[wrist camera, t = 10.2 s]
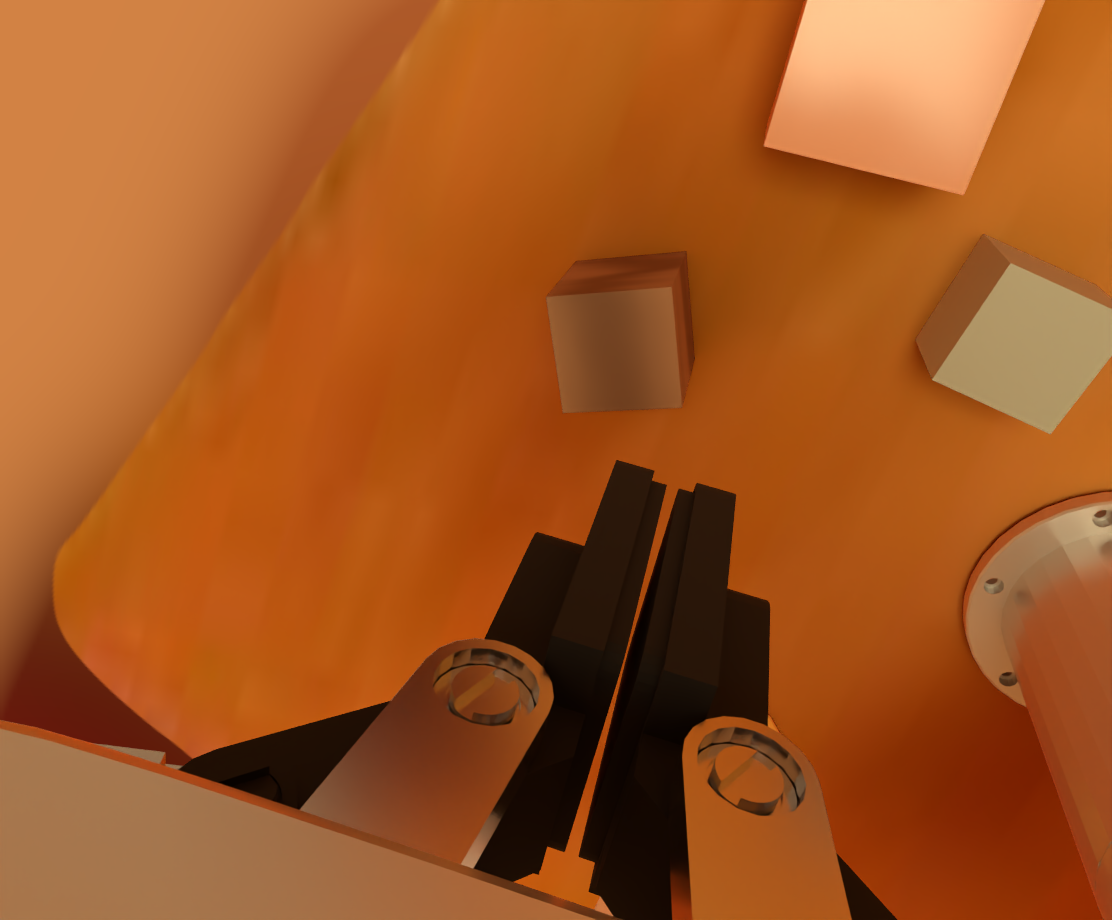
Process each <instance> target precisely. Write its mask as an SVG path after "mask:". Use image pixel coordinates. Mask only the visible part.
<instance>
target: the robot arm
mask: <svg viewBox="0 0 1112 920" xmlns="http://www.w3.org/2000/svg"><path fill="white" fill-rule="evenodd" d="M653 474H654V471H653V470H650V469H646V468H643V467H639V466H636V465H632V464H629V463H626V462H622V461H619V460H616V463H615V465H614V468H613V471H612V474H611V476H610V479H609V482H608V484H607V487H606V490H605V492H604V495H603V498H602V500H601V503H600V506H599V508H598V511H597V514H596V517H595V519H594V522H593V525H592V527H591V530H590V533H589V535H588V538H587V541H586V543H585V546H582V545H579V544H576V543H572V542H569V541H565V540H562V539H559V538H555V537H552V536H549V535H545V534H542V533H539V532H537V533H535V535H534V537H533V538H532V540H531V542H530V544H529V547H528V549H527V551H526V553H525V555H524V557H523V559H522V561H521V563H520V565H519V567H518V570H517V572H516V574H515V576H514V578H513V580H512V582H511V584H510V586H509V588H508V591H507V593H506V595H505V597H504V599H503V601H502V603H501V605H500V607H499V609H498V611H497V614H496V616H495V618H494V620H493V622H492V624H491V626H490V628H489V630H488V632H487V634H486V637H485V639H467V640H460V641H455V642H452V643H450V644H447V645H445V646H442V647H440V648H438V649H437V650H436V651H435V652H433V653H432V654H431V655H430V656H429V657H427V658H426V659H425V661H424V662H423V663H422V664H421V665H420V667H419V668H418V669H417V670H416V671H415V673H414V674H413V675H412V676H411V677H410V678H409V680H408V681H407V682H406V683H405V684H404V686H403V687H402V688H401V689H400V690H399V692H398V693H397V694H396V695H395V696H394V698H393V699H392V700H391V701H388V702H385V703H381V704H378V705H374V706H370V707H367V708H363V709H360V710H356V711H352V712H349V713H345V714H342V715H338V716H334V717H331V718H327V719H324V720H320V721H316V722H313V723H309V724H306V725H302V726H298V727H295V728H291V729H288V730H284V731H281V732H277V733H273V734H270V735H266V736H263V737H259V738H255V739H252V740H248V741H245V742H241V743H237V744H234V745H230V746H227V747H223V748H219V749H216V750H213V751H211V752H209V753H206V754H204V755H201V756H199V757H196V758H194V759H192V760H191V761H189V762H188V763H187V764H185V765H184V766H178V765H169V764H165V752H158V751H150V750H142V749H133V748H125V747H118V746H110V745H101V744H93V743H89V742H85V741H82V740H78V739H75V738H71V737H68V736H64V735H61V734H57V733H54V732H50V731H47V730H43V729H40V728H36V727H32V726H26V725H22V724H16V723H12V722H7V721H2V720H0V920H897V919H896V918H895V917H894V916H893V915H892V913H891V912H890V911H889V910H888V909H887V908H886V907H885V906H884V905H883V904H882V902H881V901H880V900H879V899H878V898H877V897H876V896H875V895H874V894H873V893H872V891H871V890H870V889H869V888H868V887H867V886H866V885H865V884H864V883H863V882H862V881H861V879H860V878H859V877H858V876H857V875H856V874H855V873H854V872H853V871H852V870H851V868H850V867H849V866H848V865H847V864H846V863H845V862H844V861H843V860H842V859H841V858H840V856H839V855H838V854H837V853H836V850H835V846H834V842H833V837H832V833H831V829H830V824H829V820H828V816H827V812H826V807H825V803H824V799H823V794H822V790H821V786H820V782H819V780H818V777H817V775H816V773H815V770H814V768H813V766H812V764H811V763H810V762H809V760H808V759H807V758H806V756H805V755H804V754H803V753H802V751H801V750H800V749H799V748H798V747H797V746H796V745H794V744H793V743H792V742H791V741H790V740H788V739H787V738H786V737H785V736H784V735H782V734H780V733H778V732H777V731H775V730H773V729H771V728H769V727H768V690H769V637H770V604H769V602H768V601H767V600H763V599H760V598H757V597H753V596H750V595H747V594H743V593H740V592H737V591H733V590H730V589H727V585H728V575H729V564H730V554H731V543H732V533H733V522H734V511H735V501H736V494H734V493H730V492H727V491H723V490H720V489H716V488H713V487H709V486H706V485H702V484H699V483H697V484H696V486H695V488H694V491H693V492H689V491H686V490H682V489H679V490H678V492H677V495H676V498H675V502H674V505H673V508H672V511H671V514H670V518H669V521H668V524H667V527H666V531H665V534H664V537H663V540H662V544H661V547H660V550H659V553H658V556H657V560H656V563H655V566H654V569H653V573H652V576H651V579H650V582H649V586H648V589H647V592H646V595H645V598H644V602H643V605H642V608H641V611H640V615H639V618H638V621H637V624H636V627H635V631H634V634H633V637H632V641H631V644H630V647H629V651H628V654H627V658H626V662H625V666H624V670H623V674H622V678H621V683H620V687H619V691H618V695H617V699H616V703H615V707H614V711H613V716H612V720H611V724H610V728H609V732H608V736H607V740H606V745H605V749H604V753H603V757H602V761H601V765H600V769H599V774H598V778H597V782H596V786H595V790H594V794H593V798H592V802H591V807H590V811H589V815H588V819H587V823H586V827H585V831H584V836H583V840H582V844H581V848H580V852H579V857H581V858H584V859H587V860H590V861H593V862H595V865H594V870H593V874H592V879H591V883H590V888H589V892H591V893H593V894H596V895H599V896H600V897H601V898H602V900H603V901H604V903H605V904H606V906H607V907H608V909H609V910H610V912H611V913H612V915H613V916H611V915H608V914H605V913H602V912H599V911H596V910H593V909H590V908H587V907H584V906H582V905H579V904H576V903H573V902H570V901H567V900H564V899H561V898H558V897H555V896H552V895H549V894H546V893H543V892H541V891H538V890H535V889H532V888H529V887H526V886H523V885H520V884H517V883H514V881H516V880H519V879H521V878H523V877H526V876H528V875H530V874H532V873H535V874H538V875H539V871H540V870H541V866H542V863H543V859H544V856H545V852H546V849H547V846H548V847H551V848H554V849H557V850H560V851H563V852H565V849H566V846H567V843H568V839H569V836H570V833H571V830H572V827H573V823H574V820H575V817H576V814H577V810H578V807H579V804H580V801H581V797H582V794H583V791H584V788H585V784H586V781H587V778H588V775H589V771H590V768H591V765H592V762H593V758H594V755H595V752H596V749H597V746H598V742H599V739H600V736H601V733H602V729H603V726H604V723H605V720H606V716H607V713H608V710H609V707H610V703H611V700H612V697H613V694H614V690H615V687H616V684H617V681H618V677H619V674H620V670H621V667H622V663H623V660H624V656H625V653H626V649H627V645H628V641H629V637H630V633H631V629H632V625H633V621H634V617H635V613H636V609H637V605H638V600H639V596H640V592H641V588H642V584H643V580H644V576H645V572H646V568H647V564H648V560H649V556H650V551H651V547H652V543H653V539H654V535H655V531H656V527H657V523H658V519H659V515H660V511H661V507H662V502H663V498H664V494H665V490H666V486H667V485H665V484H661V483H658V482H654V481H652V478H653ZM1101 510H1102V511H1101ZM1098 511H1101V512H1098ZM1097 512H1098V513H1097ZM962 617H963V623H964V628H965V634H966V638H967V641H968V644H969V647H970V650H971V653H972V656H973V658H974V659H975V661H976V663H977V664H978V666H979V668H980V669H981V671H982V673H983V674H984V675H985V676H986V678H987V679H988V680H989V681H990V682H991V683H992V684H993V685H994V686H995V687H996V688H997V689H998V690H999V691H1001V692H1002V693H1004V694H1005V695H1006V696H1008V697H1009V698H1011V699H1012V700H1013V701H1015V702H1016V703H1018V704H1020V705H1022V706H1024V707H1026V708H1027V709H1028V712H1029V715H1030V718H1031V720H1032V723H1033V726H1034V729H1035V732H1036V734H1037V737H1038V740H1039V743H1040V746H1041V748H1042V751H1043V754H1044V757H1045V760H1046V762H1047V765H1048V768H1049V771H1050V774H1051V777H1052V779H1053V782H1054V785H1055V788H1056V791H1057V793H1058V796H1059V799H1060V802H1061V805H1062V807H1063V810H1064V813H1065V816H1066V819H1067V822H1068V824H1069V827H1070V830H1071V833H1072V836H1073V838H1074V841H1075V844H1076V847H1077V850H1078V852H1079V855H1080V858H1081V861H1082V864H1083V866H1084V869H1085V872H1086V875H1087V878H1088V881H1089V883H1090V886H1091V889H1092V892H1093V895H1094V897H1095V900H1096V903H1097V906H1098V909H1099V911H1100V913H1101V916H1102V918H1103V920H1112V492H1102V493H1096V494H1091V495H1086V496H1081V497H1076V498H1072V499H1069V500H1066V501H1063V502H1061V503H1058V504H1055V505H1052V506H1049V507H1046V508H1044V509H1042V510H1040V511H1039V512H1037V513H1035V514H1033V515H1031V516H1029V517H1027V518H1026V519H1024V520H1022V521H1020V522H1019V523H1017V524H1016V525H1015V526H1014V527H1012V528H1011V529H1010V530H1008V531H1007V532H1006V533H1004V534H1003V535H1002V536H1001V537H999V538H998V539H997V540H996V542H995V543H994V544H993V545H992V546H991V547H990V548H989V549H988V550H987V551H986V553H985V554H984V555H983V556H982V558H981V559H980V561H979V563H978V564H977V566H976V568H975V569H974V571H973V573H972V574H971V576H970V579H969V582H968V585H967V589H966V592H965V595H964V603H963V616H962Z"/></svg>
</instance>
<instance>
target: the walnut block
mask: <svg viewBox="0 0 1112 920" xmlns="http://www.w3.org/2000/svg"><path fill="white" fill-rule="evenodd" d="M546 301H547V308H548V315H549V321H550V328H551V335H552V342H553V349H554V356H555V362H556V369H557V376H558V383H559V390H560V397H561V404H562V410H563V413H576V412H599V411H622V410H645V409H667V408H682V406H683V402H684V398H685V395H686V391H687V387H688V383H689V379H690V375H691V371H692V367H693V363H694V359H695V357H694V344H693V331H692V318H691V305H690V292H689V279H688V267H687V254H686V251H684V252H672V253H661V254H650V255H639V256H628V257H617V258H605V259H594V260H583V261H576V262H575V263H574V264H573V265H572V267H571V268H570V269H569V270H568V271H567V273H566V274H565V275H564V276H563V277H562V279H561V280H560V281H559V282H558V283H557V284H556V286H555V287H554V288H553V289H552V290H551V292H550V293H549V294H548V295H547V296H546Z"/></svg>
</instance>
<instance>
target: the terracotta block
mask: <svg viewBox="0 0 1112 920" xmlns="http://www.w3.org/2000/svg"><path fill="white" fill-rule="evenodd" d="M1044 1H1045V0H804V2H803V6H802V9H801V12H800V16H799V19H798V22H797V26H796V29H795V32H794V36H793V39H792V42H791V46H790V49H789V52H788V56H787V59H786V63H785V66H784V69H783V73H782V76H781V79H780V83H779V86H778V89H777V93H776V96H775V99H774V103H773V106H772V109H771V113H770V116H769V119H768V123H767V126H766V132H765V139H764V146H765V147H769V148H773V149H777V150H781V151H785V152H789V153H793V154H798V155H802V156H806V157H810V158H814V159H818V160H822V161H826V162H830V163H834V164H838V165H842V166H846V167H851V168H855V169H859V170H863V171H867V172H871V173H875V174H879V175H883V176H887V177H891V178H895V179H899V180H904V181H908V182H912V183H916V184H920V185H924V186H928V187H932V188H936V189H940V190H944V191H948V192H953V193H957V194H961V195H964V194H965V191H966V189H967V186H968V184H969V181H970V179H971V177H972V174H973V172H974V169H975V167H976V165H977V162H978V160H979V157H980V155H981V153H982V150H983V148H984V145H985V143H986V141H987V138H988V136H989V133H990V131H991V129H992V126H993V124H994V121H995V119H996V117H997V114H998V112H999V109H1000V107H1001V105H1002V102H1003V100H1004V97H1005V95H1006V93H1007V90H1008V88H1009V85H1010V83H1011V81H1012V78H1013V76H1014V73H1015V71H1016V69H1017V66H1018V64H1019V61H1020V59H1021V57H1022V54H1023V52H1024V49H1025V47H1026V44H1027V42H1028V40H1029V37H1030V35H1031V32H1032V30H1033V28H1034V25H1035V23H1036V20H1037V18H1038V16H1039V13H1040V11H1041V8H1042V6H1043V4H1044Z"/></svg>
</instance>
